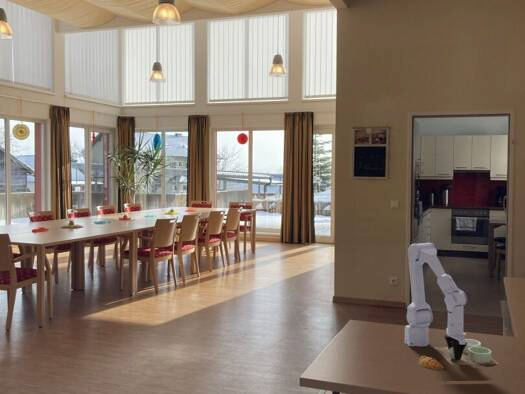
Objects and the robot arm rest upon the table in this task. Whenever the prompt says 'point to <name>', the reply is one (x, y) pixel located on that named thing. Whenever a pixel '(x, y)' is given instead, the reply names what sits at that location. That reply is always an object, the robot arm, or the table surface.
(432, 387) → the table surface
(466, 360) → the board
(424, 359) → the pastry
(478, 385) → the table surface
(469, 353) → the cup green
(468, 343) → the cup grey
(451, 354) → the ball
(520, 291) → the table surface
